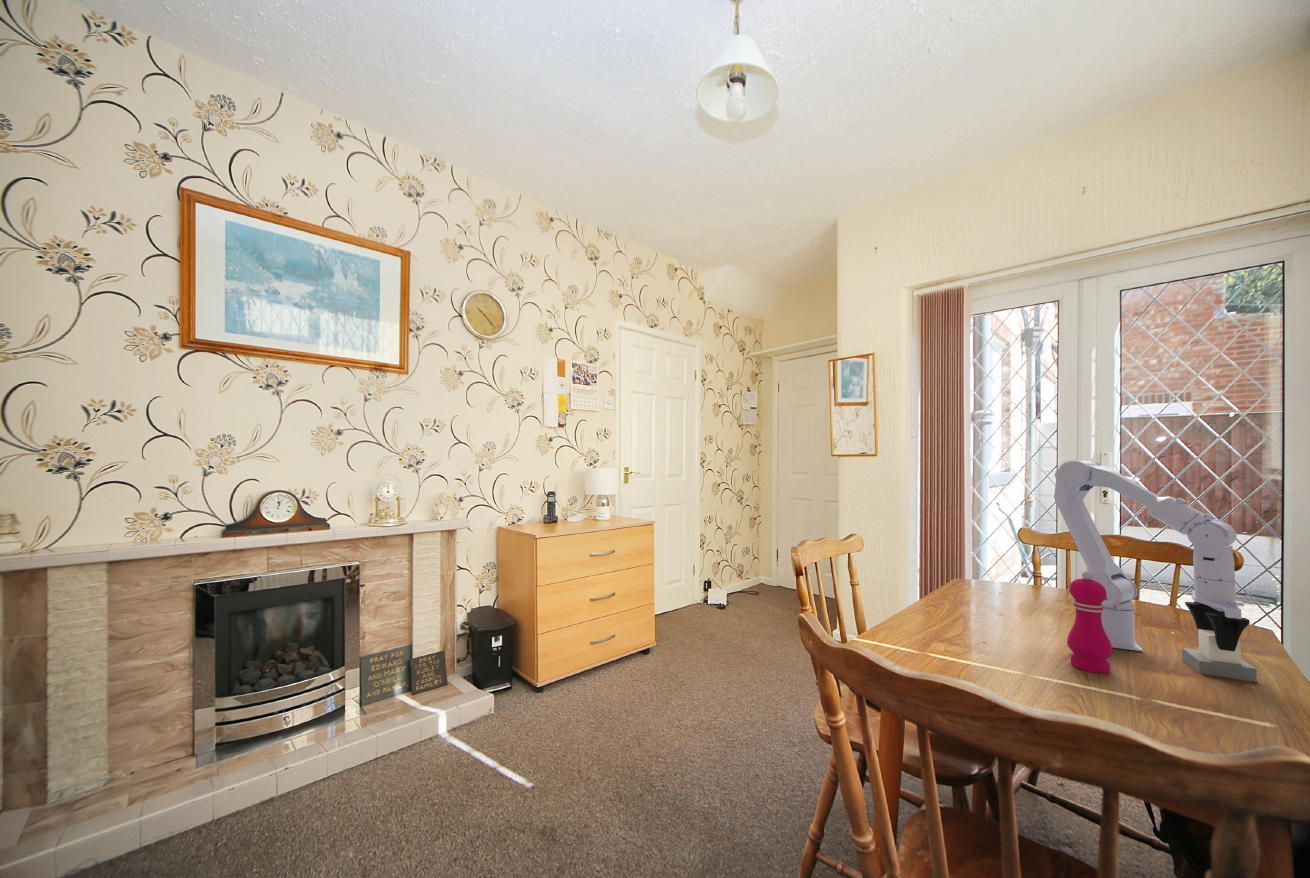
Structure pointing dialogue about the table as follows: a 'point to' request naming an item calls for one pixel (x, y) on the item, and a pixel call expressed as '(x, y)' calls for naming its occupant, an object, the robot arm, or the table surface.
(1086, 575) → the pepper mill
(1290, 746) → the table surface
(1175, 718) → the table surface
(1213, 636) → the cream block
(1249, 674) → the gray base block
